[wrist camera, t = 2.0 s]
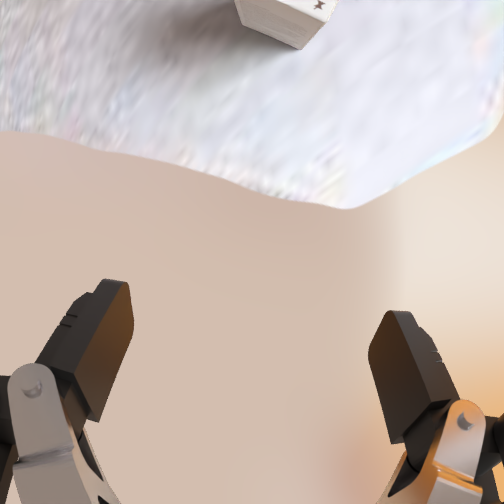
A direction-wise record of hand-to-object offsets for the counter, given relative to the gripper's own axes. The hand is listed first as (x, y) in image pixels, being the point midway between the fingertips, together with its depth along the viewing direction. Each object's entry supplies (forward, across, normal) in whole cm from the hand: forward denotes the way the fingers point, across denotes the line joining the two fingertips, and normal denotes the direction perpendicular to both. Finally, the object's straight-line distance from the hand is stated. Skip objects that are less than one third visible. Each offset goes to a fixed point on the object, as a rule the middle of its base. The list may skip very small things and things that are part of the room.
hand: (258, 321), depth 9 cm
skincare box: (+22, 0, +14) cm, 26 cm away
